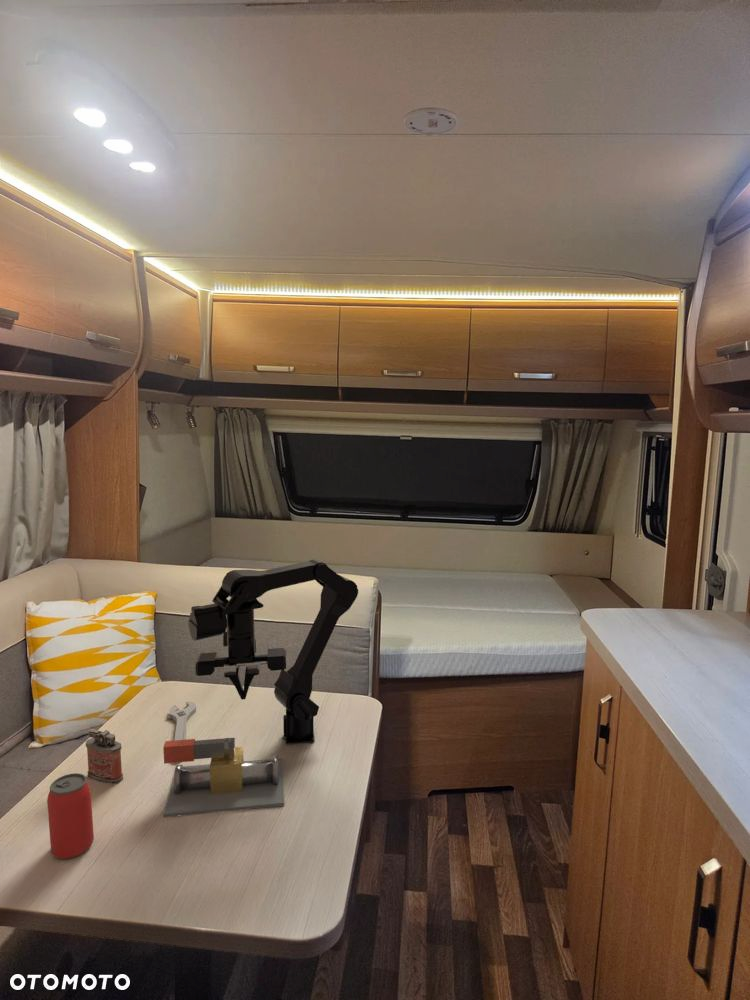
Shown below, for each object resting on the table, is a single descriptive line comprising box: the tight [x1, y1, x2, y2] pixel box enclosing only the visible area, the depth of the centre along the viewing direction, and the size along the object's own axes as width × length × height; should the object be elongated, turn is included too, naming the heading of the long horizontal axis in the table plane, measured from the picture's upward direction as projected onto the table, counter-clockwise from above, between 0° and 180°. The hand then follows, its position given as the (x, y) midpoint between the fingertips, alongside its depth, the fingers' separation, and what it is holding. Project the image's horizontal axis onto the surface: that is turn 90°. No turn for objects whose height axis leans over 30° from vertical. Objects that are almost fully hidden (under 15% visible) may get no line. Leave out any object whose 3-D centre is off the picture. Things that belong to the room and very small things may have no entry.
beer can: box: [46, 772, 95, 860], centre depth 101 cm, size 7×7×12 cm
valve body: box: [173, 746, 279, 795], centre depth 118 cm, size 20×6×7 cm, turn 100°
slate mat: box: [163, 757, 285, 818], centre depth 118 cm, size 22×15×1 cm
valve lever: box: [163, 737, 236, 764], centre depth 116 cm, size 13×2×3 cm, turn 99°
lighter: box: [85, 728, 124, 785], centre depth 120 cm, size 8×3×10 cm, turn 71°
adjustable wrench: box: [167, 700, 197, 741], centre depth 138 cm, size 25×6×2 cm, turn 11°
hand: (243, 698), depth 128 cm, fingers closed
